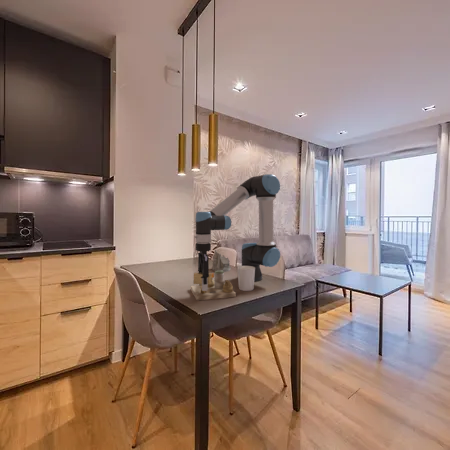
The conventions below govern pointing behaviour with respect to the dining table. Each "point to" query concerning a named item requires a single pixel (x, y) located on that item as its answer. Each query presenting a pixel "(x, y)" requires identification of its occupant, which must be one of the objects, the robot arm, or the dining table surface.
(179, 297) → the dining table surface
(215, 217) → the robot arm
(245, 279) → the candle holder
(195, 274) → the wing knob
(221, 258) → the ceramic cottage
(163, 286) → the dining table surface
